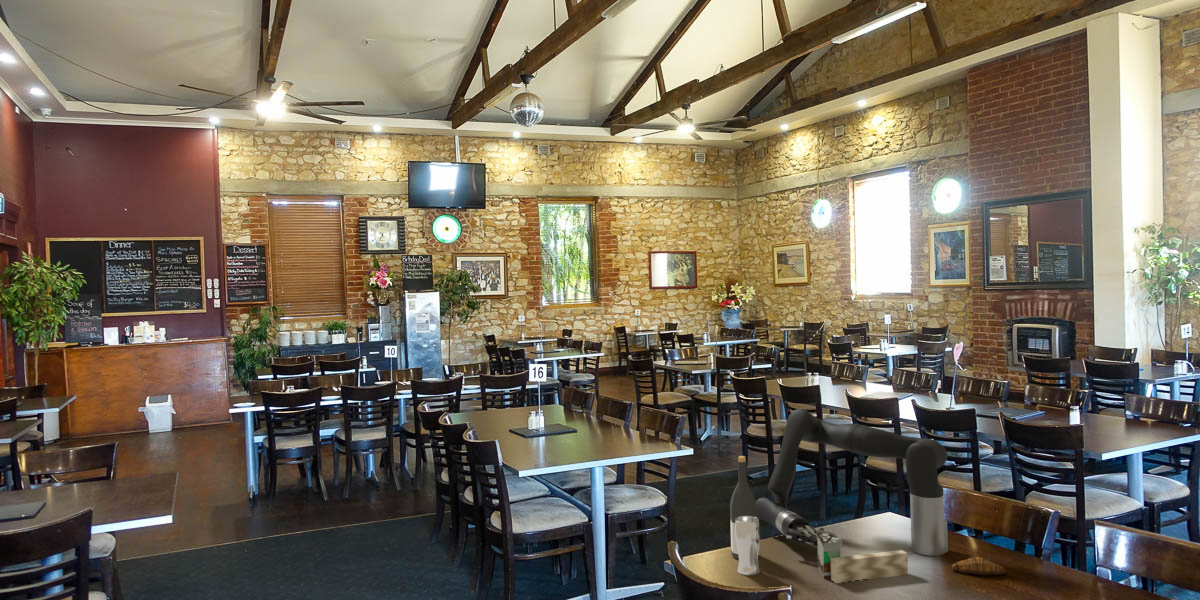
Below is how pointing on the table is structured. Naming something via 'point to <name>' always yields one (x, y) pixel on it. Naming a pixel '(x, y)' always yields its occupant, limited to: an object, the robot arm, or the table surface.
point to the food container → (827, 550)
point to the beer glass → (747, 544)
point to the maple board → (869, 566)
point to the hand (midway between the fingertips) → (819, 543)
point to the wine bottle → (741, 503)
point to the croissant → (978, 567)
